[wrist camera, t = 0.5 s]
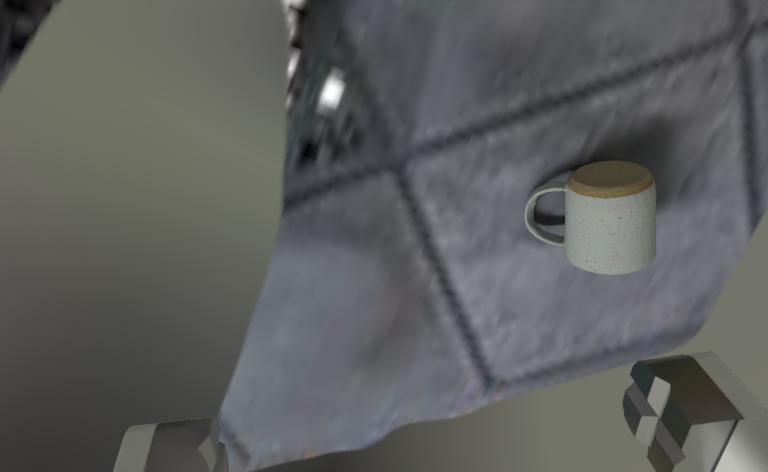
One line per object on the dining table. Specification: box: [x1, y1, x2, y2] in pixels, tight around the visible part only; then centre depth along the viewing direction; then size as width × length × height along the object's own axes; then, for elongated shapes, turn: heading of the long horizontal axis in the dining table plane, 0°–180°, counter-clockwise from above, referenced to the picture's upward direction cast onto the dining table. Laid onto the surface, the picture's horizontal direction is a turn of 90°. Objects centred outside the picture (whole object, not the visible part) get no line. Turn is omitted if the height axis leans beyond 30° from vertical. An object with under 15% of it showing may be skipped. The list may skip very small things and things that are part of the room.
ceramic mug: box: [524, 160, 656, 275], centre depth 49 cm, size 11×8×8 cm
